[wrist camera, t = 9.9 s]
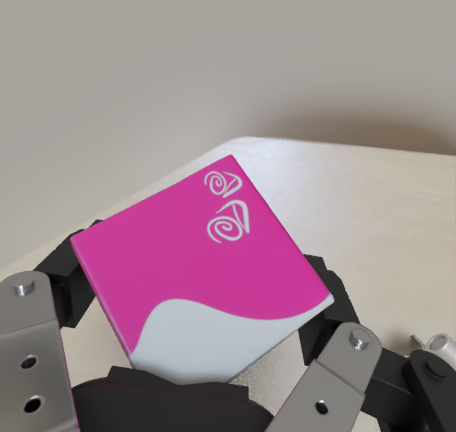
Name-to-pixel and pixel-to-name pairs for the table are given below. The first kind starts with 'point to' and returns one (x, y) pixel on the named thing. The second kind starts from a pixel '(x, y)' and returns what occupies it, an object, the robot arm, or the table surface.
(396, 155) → the table surface
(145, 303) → the supplement box
